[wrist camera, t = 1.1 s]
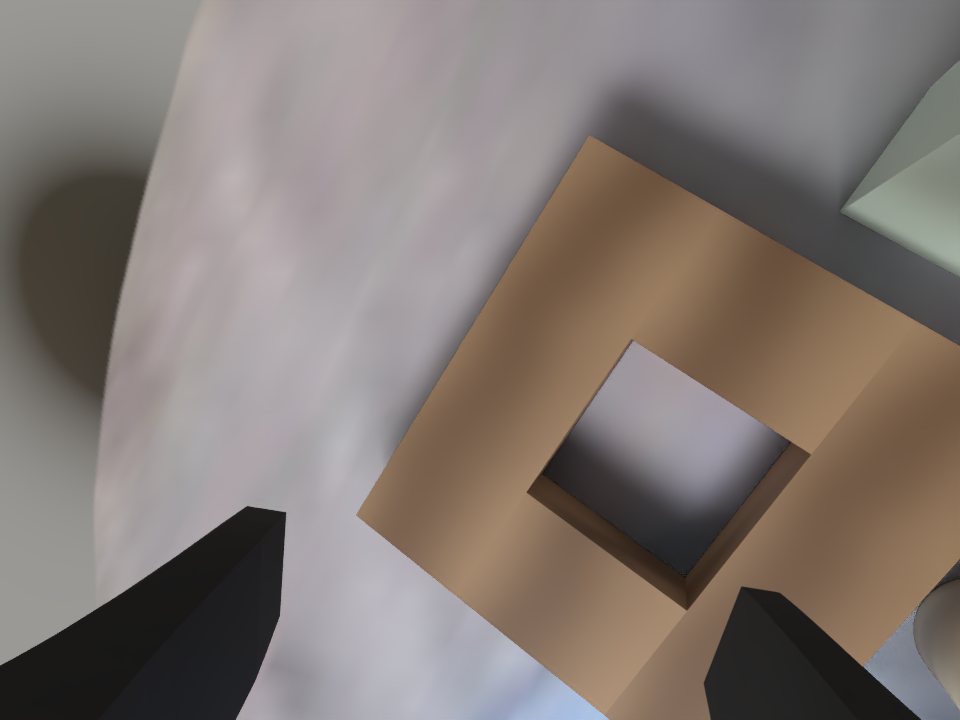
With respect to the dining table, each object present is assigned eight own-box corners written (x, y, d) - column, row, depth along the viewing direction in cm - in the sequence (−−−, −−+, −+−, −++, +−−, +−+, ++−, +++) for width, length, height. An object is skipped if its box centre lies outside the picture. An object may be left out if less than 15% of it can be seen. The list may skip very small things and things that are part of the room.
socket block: (1030, 404, 17) (1086, 418, 15) (722, 758, 20) (729, 815, 18) (598, 156, 20) (589, 135, 18) (387, 495, 23) (356, 514, 20)
